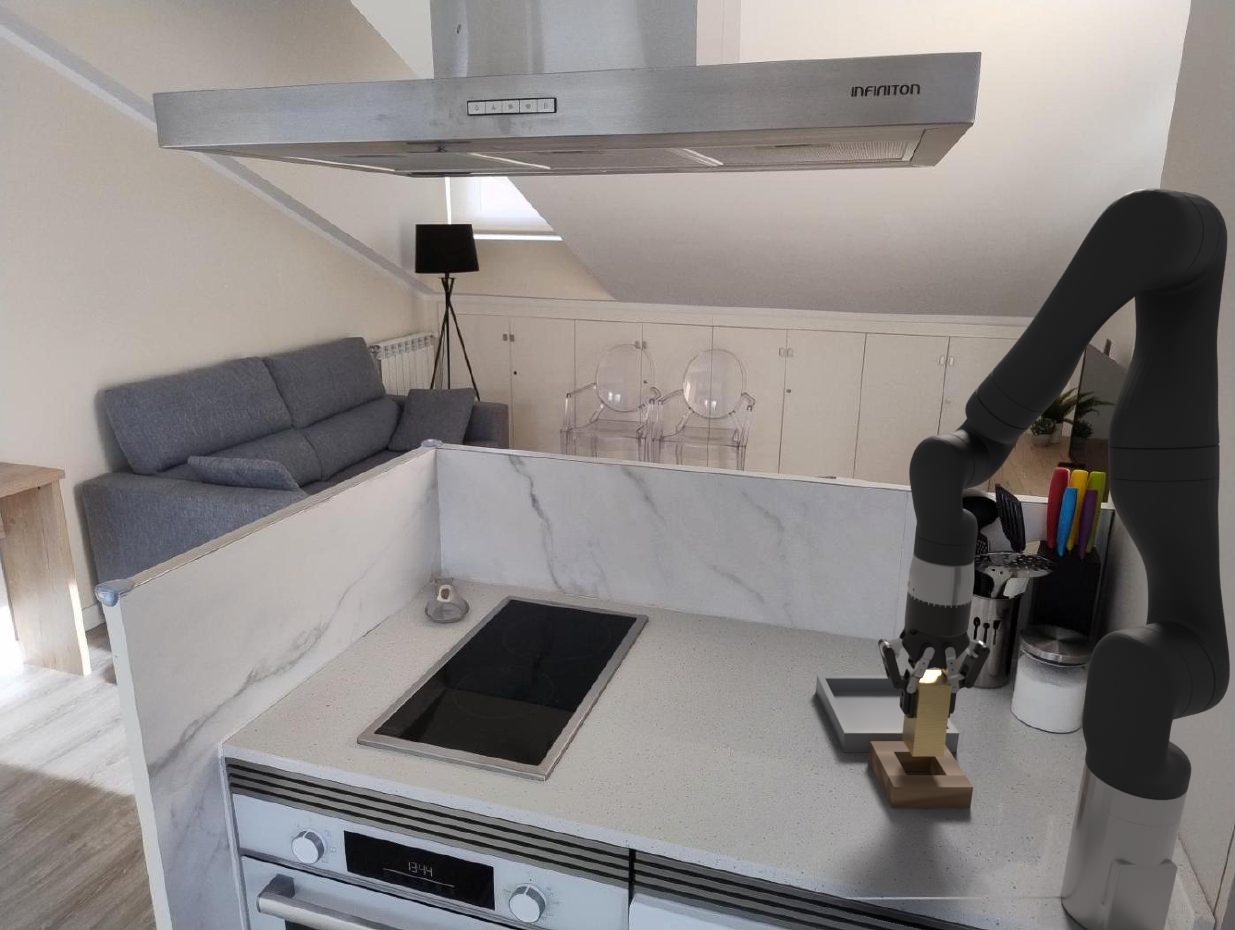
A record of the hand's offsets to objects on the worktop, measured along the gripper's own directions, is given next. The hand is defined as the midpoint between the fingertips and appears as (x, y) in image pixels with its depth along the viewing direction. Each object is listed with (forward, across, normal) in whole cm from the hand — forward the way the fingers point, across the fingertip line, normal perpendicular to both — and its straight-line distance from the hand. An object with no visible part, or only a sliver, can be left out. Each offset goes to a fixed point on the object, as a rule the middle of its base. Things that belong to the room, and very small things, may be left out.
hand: (926, 714), depth 112 cm
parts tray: (+10, 0, +16) cm, 19 cm away
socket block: (+10, 0, 0) cm, 10 cm away
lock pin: (+5, 0, 0) cm, 5 cm away
